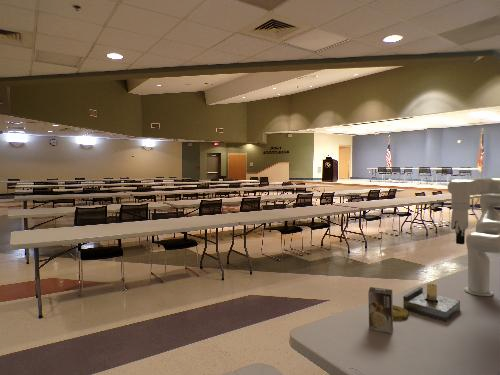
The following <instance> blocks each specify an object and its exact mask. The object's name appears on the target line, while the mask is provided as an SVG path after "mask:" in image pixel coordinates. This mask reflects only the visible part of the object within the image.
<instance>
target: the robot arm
mask: <svg viewBox="0 0 500 375" xmlns="http://www.w3.org/2000/svg"><path fill="white" fill-rule="evenodd" d="M447 190H448V192H449V193H450V194H451V205H450V206H451V219H450V220H451V221H450V229H451V230H455V231H454V233H455V243H456V244H457V245H465V244H466V249H467V286H465V287H464V291H465V292H466V293H468V294H471V295H473V296H479V297H480V296H481V297H492V296H493V295H494V291H493V290H491V288H490V284H491V281H490V280H491V279H490V277H491V271H490V270H491V268H490V267H491V262H490V260H491V259H490V258H489V255H488V254H494V255H495V254H496V255H500V213H499V212H498V211H497V210H496V209H495V208H500V177H484V178H483V177H482V178H468V179H452V180H450V181H449V182H448V184H447ZM477 195H479V196H480V197H479V206H480V210H481V215H480V217H479V220H478V221H477V224H476V225H475V232H470V233H469V234H467V235H466V230H467V229H468V228H469V211H470V209H471V197H470V196H477ZM465 235H466V236H465ZM487 253H488V254H487Z"/></svg>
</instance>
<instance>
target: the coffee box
mask: <svg viewBox="0 0 500 375" xmlns="http://www.w3.org/2000/svg"><path fill="white" fill-rule="evenodd" d="M367 293H368V297H367V298H368V330H372V331H377V332H382V333H388V334H393V331H394V320H393V305H394V303H393V290H392V289H387V288H380V287H373V286H370V287H369V289H368V292H367Z"/></svg>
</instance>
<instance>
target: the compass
mask: <svg viewBox="0 0 500 375" xmlns="http://www.w3.org/2000/svg"><path fill="white" fill-rule="evenodd" d="M407 318H409V311H407V310H406V309H404V308H403V307H402V306H399V305H394V304H393V321H403V320H405V319H407Z"/></svg>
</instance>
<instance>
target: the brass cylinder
mask: <svg viewBox="0 0 500 375" xmlns="http://www.w3.org/2000/svg"><path fill="white" fill-rule="evenodd" d="M437 287H438V286H437V284H436V283H432V282H431V283H430V282H429V283H428V282H427V283H426V292H427V302H431V303H437V295H438V293H437V290H438V288H437Z"/></svg>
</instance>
